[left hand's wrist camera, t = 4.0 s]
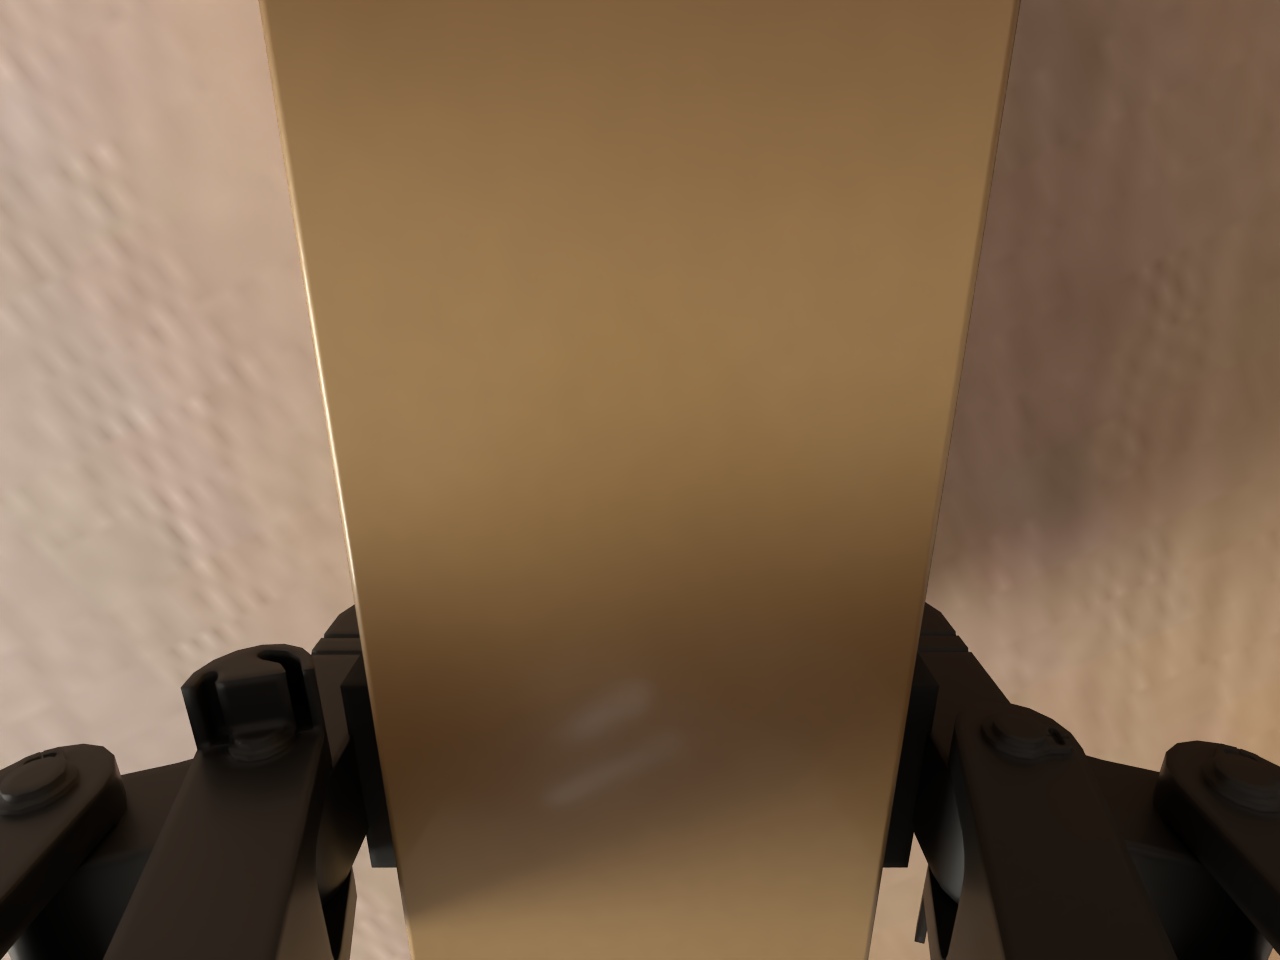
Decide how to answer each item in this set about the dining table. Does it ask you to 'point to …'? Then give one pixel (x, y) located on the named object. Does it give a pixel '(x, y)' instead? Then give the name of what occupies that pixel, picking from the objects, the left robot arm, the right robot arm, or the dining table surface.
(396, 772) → the bar
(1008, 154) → the dining table surface
